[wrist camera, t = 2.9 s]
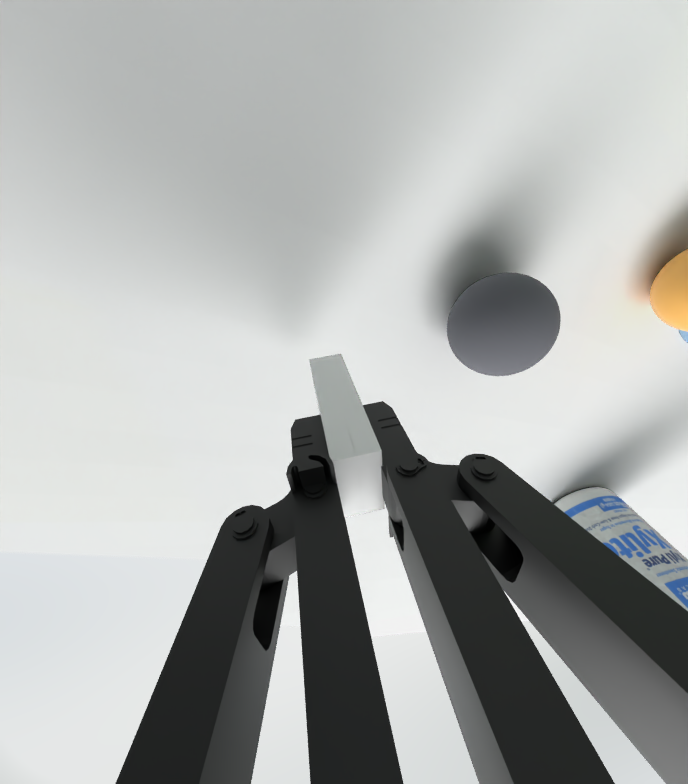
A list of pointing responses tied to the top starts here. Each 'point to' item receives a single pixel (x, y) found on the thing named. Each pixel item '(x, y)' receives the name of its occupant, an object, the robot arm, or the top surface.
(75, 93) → the top surface
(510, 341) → the gray sphere
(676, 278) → the object ball
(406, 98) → the top surface
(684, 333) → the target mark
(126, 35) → the top surface
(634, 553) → the supplement tub
